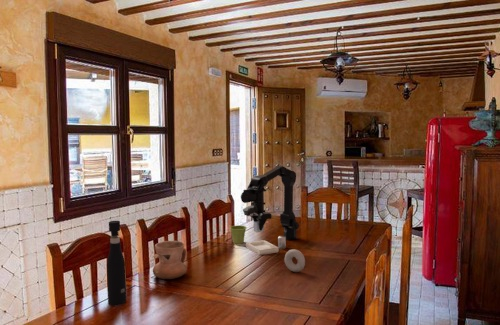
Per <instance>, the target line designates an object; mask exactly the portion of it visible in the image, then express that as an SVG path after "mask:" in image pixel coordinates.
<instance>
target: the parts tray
mask: <svg viewBox="0 0 500 325" xmlns="http://www.w3.org/2000/svg"><path fill="white" fill-rule="evenodd" d="M245 248H247V249H248V250H250V251H252V252H254V253H255V254H257V255H259V256H262V255H270V254H275V253H279V250H280V249H279V247H278V245H275V244H274V243H273V244H272V243H270V242H269V241H267V240H265V239H264V240H256V241H255V240H254V241H250V242H249V241H248V242H246V243H245Z"/></svg>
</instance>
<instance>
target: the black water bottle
mask: <svg viewBox="0 0 500 325" xmlns="http://www.w3.org/2000/svg"><path fill="white" fill-rule="evenodd" d="M108 231H109V232H110V238H109V240H110V241H109V252H108V255H107V261H106V278H107V279H106V284H107V302H108V305H109V306H114V307H115V306H121V305H125V303H126V302H127V283H126V282H127V277H126V262H125V256H124V254H123V251H122V246H121V244H122V243H121V240H120V237H119V232H120V231H121V221H120V220H111V221H109V222H108Z"/></svg>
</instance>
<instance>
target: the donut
mask: <svg viewBox="0 0 500 325" xmlns="http://www.w3.org/2000/svg"><path fill="white" fill-rule="evenodd" d="M293 258H295V259H296V261H297V263H294V262H293ZM284 264H285V267H287V269H288V270H289V271H291V272H294V273H298V272H301V271H302V270H304V268H305V265H306V258H305V255H304V254H303V253H302V252H301V251H300V250H298V249H295V248H293V249H289V250H288V251H287V252H286V253H285V255H284Z"/></svg>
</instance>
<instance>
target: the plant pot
mask: <svg viewBox="0 0 500 325" xmlns="http://www.w3.org/2000/svg"><path fill="white" fill-rule="evenodd" d="M229 229H230V231H231V238H232V243H233V244H235V245H237V244H238V245H239V244H244V243H245V242H244V241H245V236H246V235H245V234H246V230H247V226H245V225H232V226H230V227H229Z"/></svg>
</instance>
